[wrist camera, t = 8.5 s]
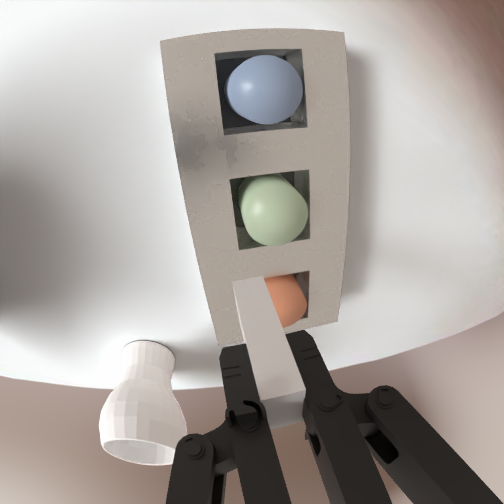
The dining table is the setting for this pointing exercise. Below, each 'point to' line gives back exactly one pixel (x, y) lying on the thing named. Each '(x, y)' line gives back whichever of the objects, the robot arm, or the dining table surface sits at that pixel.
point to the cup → (143, 408)
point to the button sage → (271, 209)
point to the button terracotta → (286, 298)
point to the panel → (263, 167)
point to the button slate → (264, 89)
